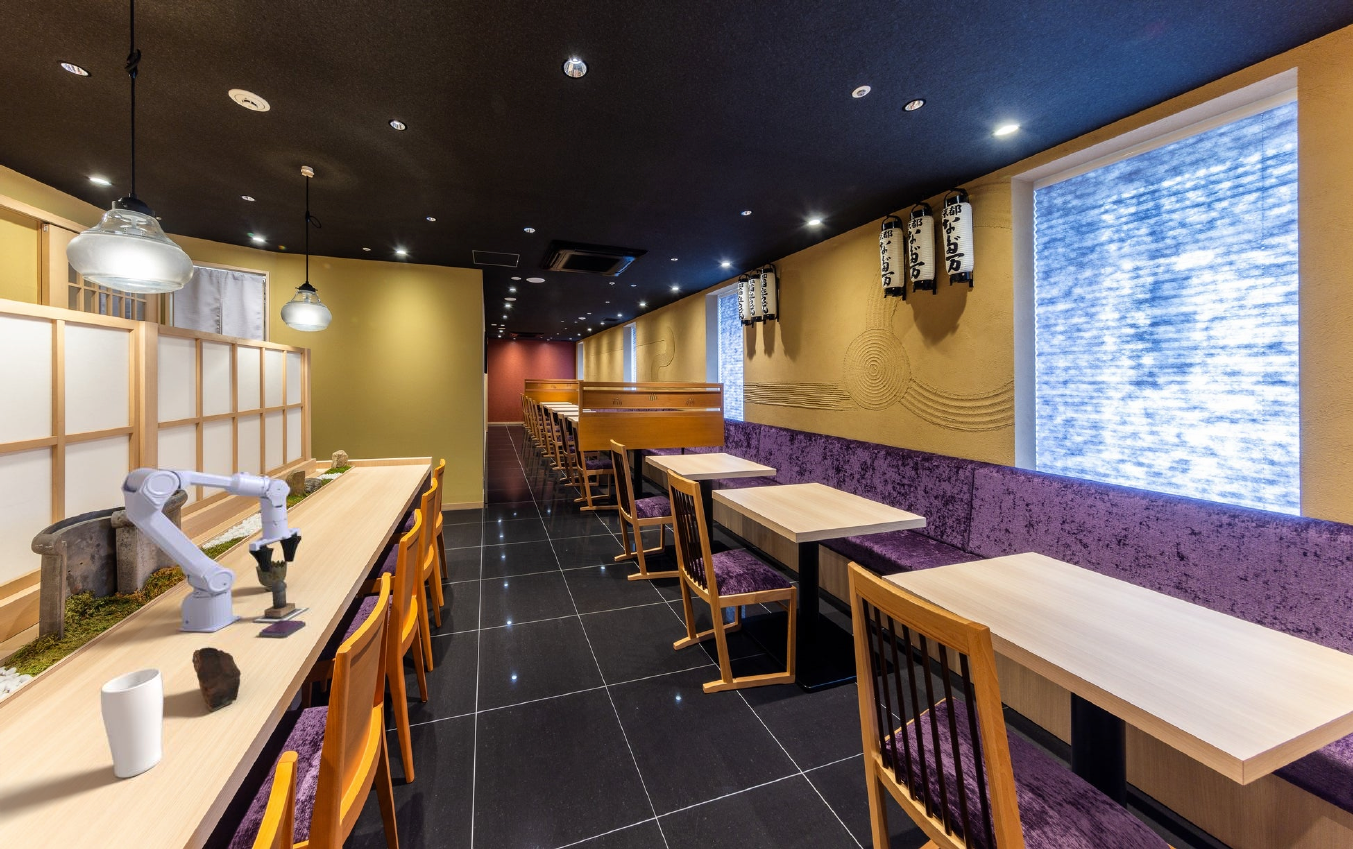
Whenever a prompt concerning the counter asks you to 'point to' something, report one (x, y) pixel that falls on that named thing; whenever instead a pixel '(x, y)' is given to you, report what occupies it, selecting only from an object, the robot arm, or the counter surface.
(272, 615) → the wooden stamp
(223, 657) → the decorative rock
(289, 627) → the ink pad
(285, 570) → the cup
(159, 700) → the white tumbler
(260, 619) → the stamping board
